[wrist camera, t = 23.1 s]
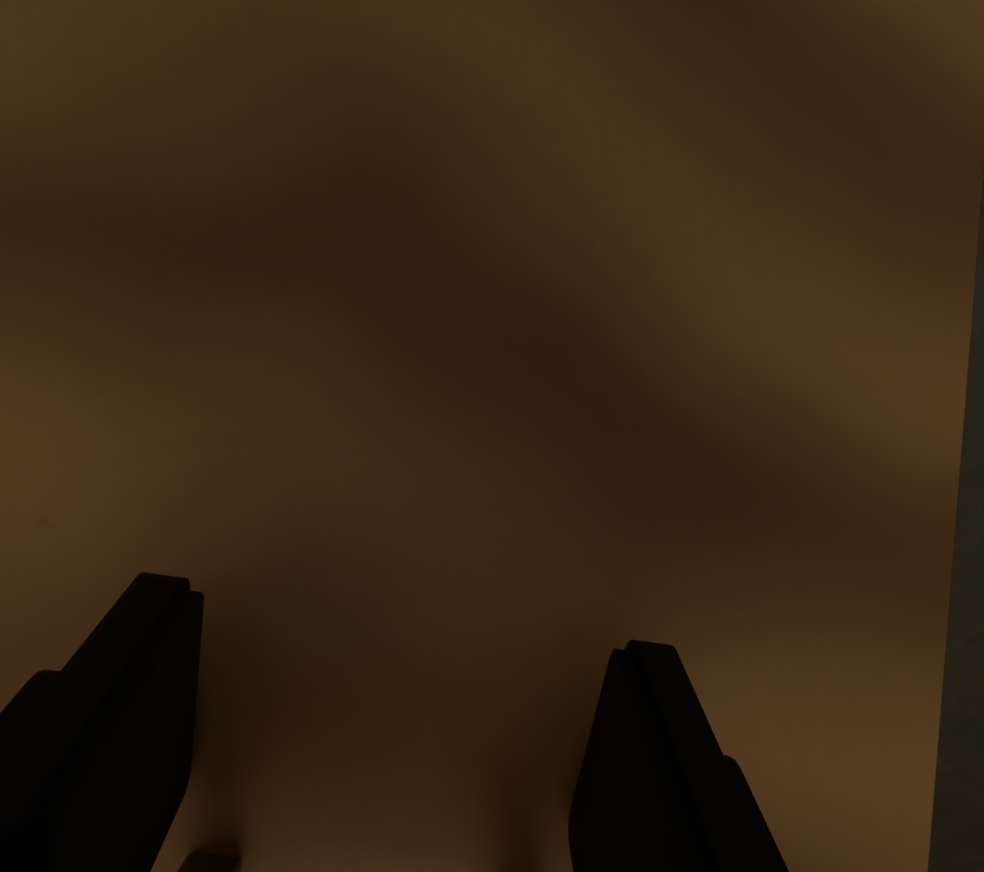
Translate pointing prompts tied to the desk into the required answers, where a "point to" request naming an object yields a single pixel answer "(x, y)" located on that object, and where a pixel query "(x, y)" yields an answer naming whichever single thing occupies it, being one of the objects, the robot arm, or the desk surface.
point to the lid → (495, 397)
